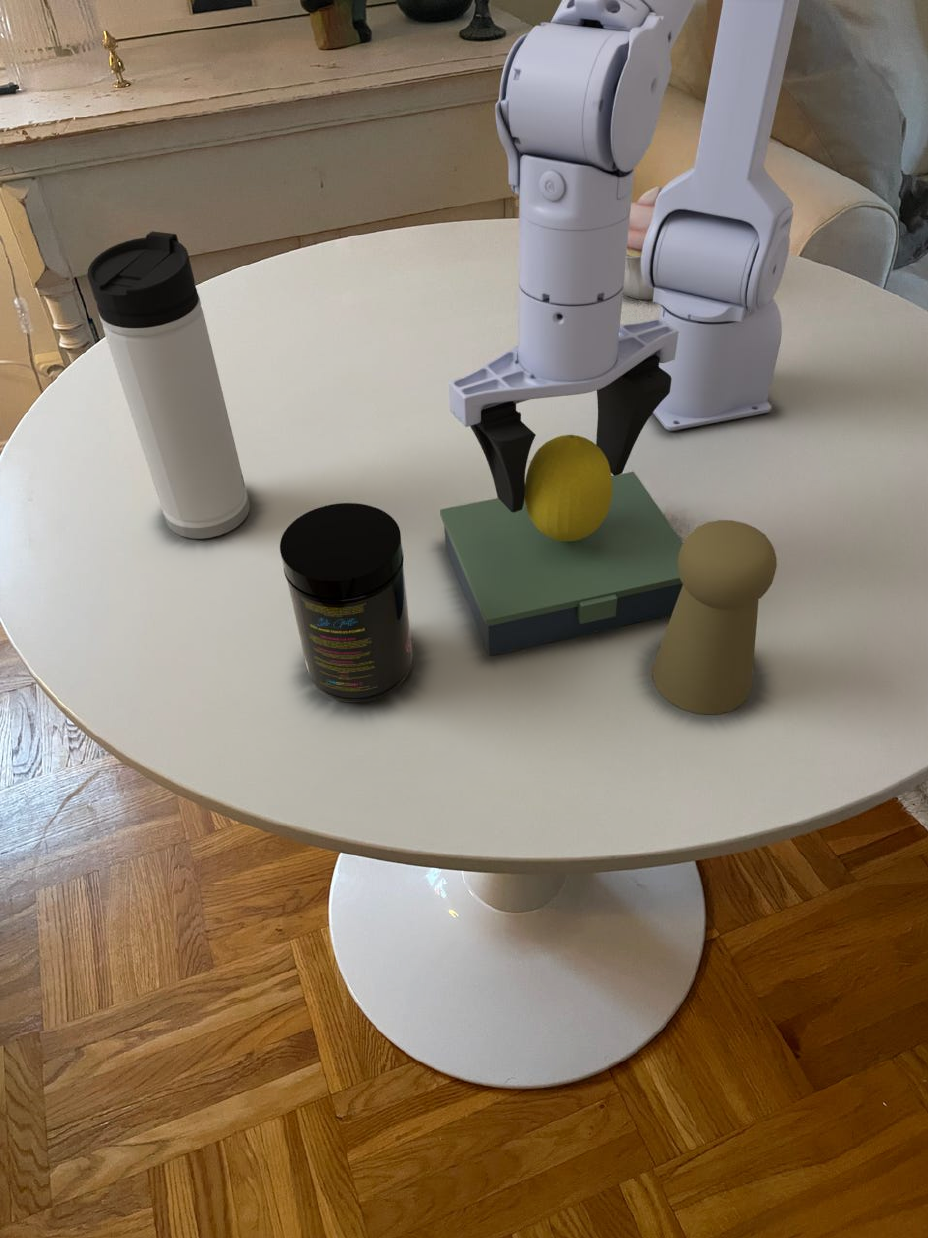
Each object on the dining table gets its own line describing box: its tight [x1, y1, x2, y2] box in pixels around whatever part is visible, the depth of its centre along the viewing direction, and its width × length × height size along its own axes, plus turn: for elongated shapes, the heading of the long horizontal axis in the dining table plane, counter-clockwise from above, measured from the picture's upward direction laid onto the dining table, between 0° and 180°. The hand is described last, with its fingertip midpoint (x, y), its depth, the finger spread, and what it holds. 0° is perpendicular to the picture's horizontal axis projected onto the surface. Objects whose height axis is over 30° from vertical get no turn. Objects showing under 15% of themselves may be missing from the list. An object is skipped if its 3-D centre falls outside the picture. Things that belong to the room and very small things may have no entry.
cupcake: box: [623, 186, 664, 300], centre depth 91 cm, size 9×9×10 cm
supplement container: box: [279, 502, 413, 703], centre depth 55 cm, size 7×7×10 cm
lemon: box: [525, 434, 613, 542], centre depth 59 cm, size 6×6×8 cm
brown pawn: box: [651, 519, 778, 715], centre depth 53 cm, size 6×6×11 cm
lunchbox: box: [439, 471, 684, 656], centre depth 63 cm, size 14×12×4 cm
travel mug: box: [86, 230, 251, 540], centre depth 63 cm, size 6×7×20 cm
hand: (560, 484), depth 60 cm, fingers open, 7 cm apart
